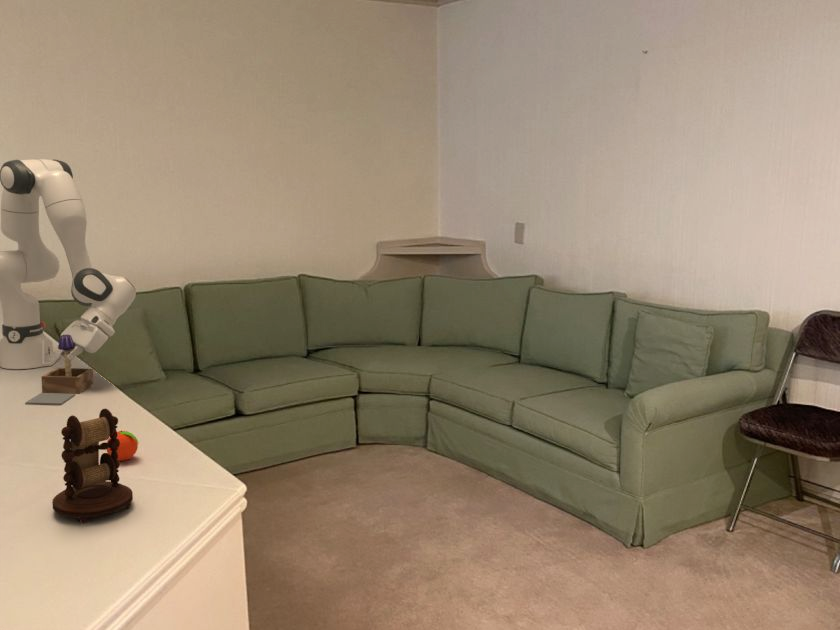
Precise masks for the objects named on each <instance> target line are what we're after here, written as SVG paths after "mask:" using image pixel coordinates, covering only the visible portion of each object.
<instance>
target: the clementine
mask: <svg viewBox="0 0 840 630" xmlns="http://www.w3.org/2000/svg"><path fill="white" fill-rule="evenodd" d="M117 434H118V436H117V439H119V441H120V445H119V447H118V450H116V451H117V454H118V459H117V461H118V462H123V461H128V460H129V459H131V458H133V457H134V455H136V453H137V450H138V448H139V447H138V446H139V441H138V438H137V437H136V436H135V435H134V434H133V433H132V432H130V431H127V430H118V431H117ZM110 439H111V438H110V437H109V439H108V440H106V443H108V441H109V440H110ZM111 452H112V451H111V450H110V448H109V447H108V448H107V449H106V453H108V454H109V455H110V456H111Z"/></svg>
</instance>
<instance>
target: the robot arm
mask: <svg viewBox="0 0 840 630" xmlns="http://www.w3.org/2000/svg"><path fill="white" fill-rule="evenodd" d="M0 183H1V186H2V188H3V189H2V194H1V201H0V203H1V204H0V230H1V233H2V235H3V236H5V237H6V238H7V239H9V240H11V241H12V242H13V241H14V242H16V243H17V247H18V249H16V250H0V304H1V312H2V322H3V324H2V325H1V333H2V338H1V339H0V368H3V369H7V370H25V369H26V370H28V369H35V368H41V367H51V366H53V365H54V364H55V363H56V362H57V361H58V360H59V359H60V358H61V357H63V358H64V354H65V353H64V350H60V351H59V352H58V353H57V352H54V344H53V341H52V340H51V339H50V338H49V337H47V335H45V333H44V328H46V322H45V321H41V316H40V315H41V314H40V303H39V301H38V299H37V298H36V297H35V296H34V295H32V294H29V293H27V292H24V290H23V289H22V287H21V286H22V285H21V284H26V283H38V282H39V283H40V282H44V281H48V280H51V279H54V278H56V277H57V275H58V273H59V271H60V260H59V258H58V257H57V255H56V254H55V253H54V252H53V251H51V250H50V249H49V248H48V247H47V246H46V245H45V244H44V242H43V239H42V237H41V234H40V233H41V232H40V220H39V218H40V202H39V201H40V197H41V199H42V202H43V206H44V210H45V212H46V216H47V218H48V219H49V222H50V224H51V226H52V228H53V230H54V233H56V236H57V237H58V240H59V241H60V243H61V245H62V247H63V249H64V251H65V255H66V258H67V262H68V265H69V269H70V273H71V275H72V281H71V282H72V283H71V289H70V292H71V296H72V298H73V300H74V301H75V302H76V303H77V304H78V305H81V306H82V307H83V306H84V307H88V308H87V309H86V311H84V313H83V314H82V315H81V316H80V319H75V320H74V321H73V322H71V323H70V324H69V325H68V326H67V327H66V328H65V330H63V331H62V332H61V334H60V336H61V335H71V337H72V339H73V343H74V345H75V348H74V349H72V350H70V352H69V353H68V354H67V355H66V358H68V359H69V360H71V361H74V359H75V357H77V356H79V355H80V354H82V353H83V352H84V351H85V352H86V353H89V354H94V353H96V352H98V350H99V349H101V347H102V346H103V345H104V344H105V343H106V342H107V341H108V339H109V338H111V337H113V336H114V335H115V333H116V331H115V329H114V327H113V326H114V324H116V321H117V320H118V318H119V317H120V316H123V314H124V313H125V312H126V311H127V310H128V308H130V306H131V305H132V303H133V302H134V300H135V299H136V296H137V291H136V288H135V286H134V285H133V284H132V283H131V281H129V279H127V278H126V277H124V276H122V275H121V276H120V275H119V276H118V275H112V274H107V273H105V272H102V271H100V270H99V269H96V268H93V267H92V263H91V260H90V255H89V252H88V251H87V246H86V233H87V231H86V230H87V225H88V224H87V214H86V213H87V212H86V208H85V205H84V201H83V198H82V195H81V194H80V190H79V189H78V186H77V185H76V182H75V180H74V175H73V171H72V168H71V167H70V165H69V164H68V163H66V162H65V161H63V160H59V159H48V158H46V159H45V158H32V159H13V160H8V161H6V162H4V163H3V164H2V165H1V167H0Z"/></svg>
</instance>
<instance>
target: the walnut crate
mask: <svg viewBox="0 0 840 630" xmlns="http://www.w3.org/2000/svg"><path fill="white" fill-rule="evenodd" d="M71 370H72V371H71V374H72V377H70V376H65V374H66V372H65V367H56V368H54V369H53V370H51V371H49V372H47V373H45V374H43V375H42V376H40V377H41V393H59V394H75V395H76V394H77V395H78V394H79V395H81V394H82V393H83V392H84V391H86V390H87V389H89V388H90V387H92V386H93V385H94V368H81V367H80V368H79V367H77V368H75V367H74V368H73V367H71Z"/></svg>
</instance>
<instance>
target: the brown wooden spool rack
mask: <svg viewBox="0 0 840 630" xmlns="http://www.w3.org/2000/svg"><path fill="white" fill-rule="evenodd" d="M118 424H119V419H118V417H117V416H115V415H113V414H112V412H111V410H109V409H108V408H102V409H101V410H100V412H99V416H98V417H97V418H93V419H88V420H84V421H80V419H79V418H78V417H77V416H76V415H74V414H73V415H70V416H69V417H68V418H67V420H66V426H64V427H62V429H61V435H62V436H63V437H62V440H64V442H63V446H62V447H63V449H64V450H63V451H62V452H61V459H62V460H63V463H65V465H64V467H63V468H64V469H63V471H64V472H65V473H64V475H63V477H62V479H63V481H64V482H65V483H64V486H65V489H63V490H62V491H60V492H59V493H57V494H55V496H54V497H53V499H52V510H53V511H54V512H55V513H56V514H58V515H60V516H65V517H69V518H79V521H80V523H81V524H84V523H85V522H86V518H93V517H99V516H100V517H101V516H106V515H108V514H113V513H116V512H118V511H120V510H123V509H124V508H126V509H130V508H131V503H132V501H133V499H134V498H133V490H132V489H131V487H129V486H126V485H124V484H122V483H119V481H120V476H119V474H118V473H119V471H120V470H119V468H120V461H117V459H118V454H117V451H116V450H118V447H119V445H120V441H119V439H117V436H118V434H117V432H118V431H117V429H118V426H117V425H118ZM109 438H111V439H110V440H109V441H108V439H109ZM103 441H106V442H103ZM107 441H108V443H107ZM100 442H102V443H100ZM108 447H109V448H110V450H111V451H112V452H111V456H110V455H109V454H108V453H107V452H104V453H102V454H101V456H100V453H99V451H100V450H101V451H107V448H108ZM99 456H100V457H99Z"/></svg>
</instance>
